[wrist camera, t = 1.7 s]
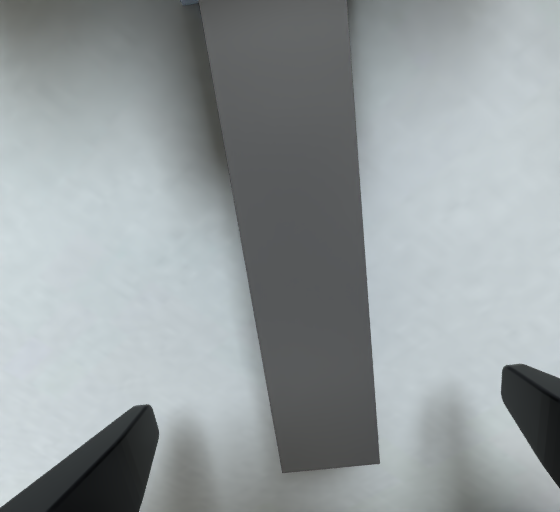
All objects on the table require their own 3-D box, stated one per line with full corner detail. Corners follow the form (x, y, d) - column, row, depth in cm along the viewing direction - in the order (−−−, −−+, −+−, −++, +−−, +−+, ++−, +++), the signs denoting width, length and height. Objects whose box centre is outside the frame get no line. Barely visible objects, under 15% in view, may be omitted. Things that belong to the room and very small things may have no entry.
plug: (380, 370, 11) (451, 526, 6) (254, 384, 11) (233, 544, 7) (336, -310, 7) (463, -1459, 2) (131, -265, 7) (-203, -1202, 2)
